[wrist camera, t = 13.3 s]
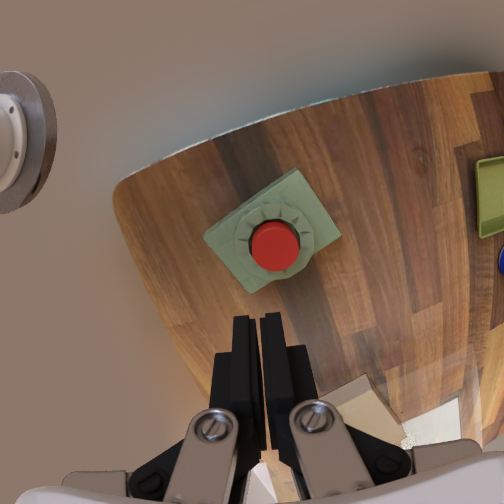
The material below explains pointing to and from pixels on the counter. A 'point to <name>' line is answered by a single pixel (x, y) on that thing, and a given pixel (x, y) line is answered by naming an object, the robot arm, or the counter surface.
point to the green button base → (267, 210)
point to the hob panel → (366, 410)
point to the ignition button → (274, 246)
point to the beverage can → (501, 261)
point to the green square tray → (490, 196)
